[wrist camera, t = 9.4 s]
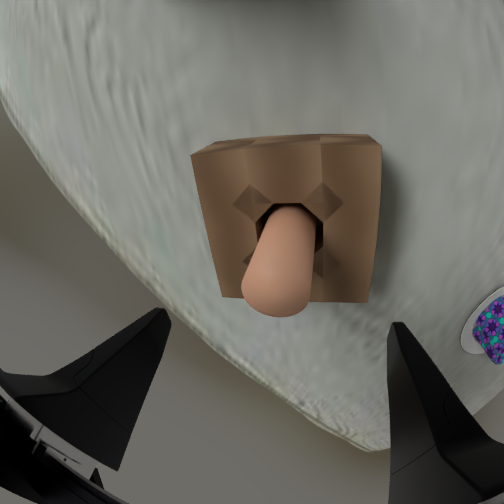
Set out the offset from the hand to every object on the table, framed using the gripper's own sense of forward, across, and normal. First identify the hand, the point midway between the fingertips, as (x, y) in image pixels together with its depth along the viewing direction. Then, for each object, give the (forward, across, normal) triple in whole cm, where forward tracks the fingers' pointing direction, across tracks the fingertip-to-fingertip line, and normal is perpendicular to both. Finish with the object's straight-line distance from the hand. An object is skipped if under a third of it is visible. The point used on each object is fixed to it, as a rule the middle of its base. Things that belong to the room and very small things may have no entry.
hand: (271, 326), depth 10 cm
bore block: (+13, 0, +1) cm, 13 cm away
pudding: (+13, -25, +14) cm, 31 cm away
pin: (+12, 0, +1) cm, 12 cm away
